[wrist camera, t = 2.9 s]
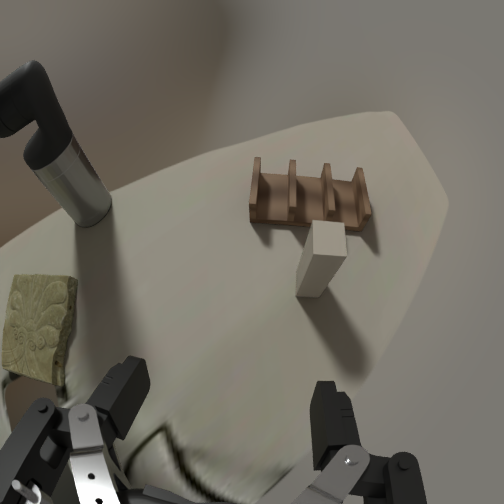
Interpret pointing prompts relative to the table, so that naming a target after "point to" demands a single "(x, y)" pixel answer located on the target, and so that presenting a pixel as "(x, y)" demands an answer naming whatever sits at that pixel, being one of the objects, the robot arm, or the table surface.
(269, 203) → the drying rack
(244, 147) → the table surface
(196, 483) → the table surface
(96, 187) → the robot arm
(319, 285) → the white rectangular block
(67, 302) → the decorative tile
